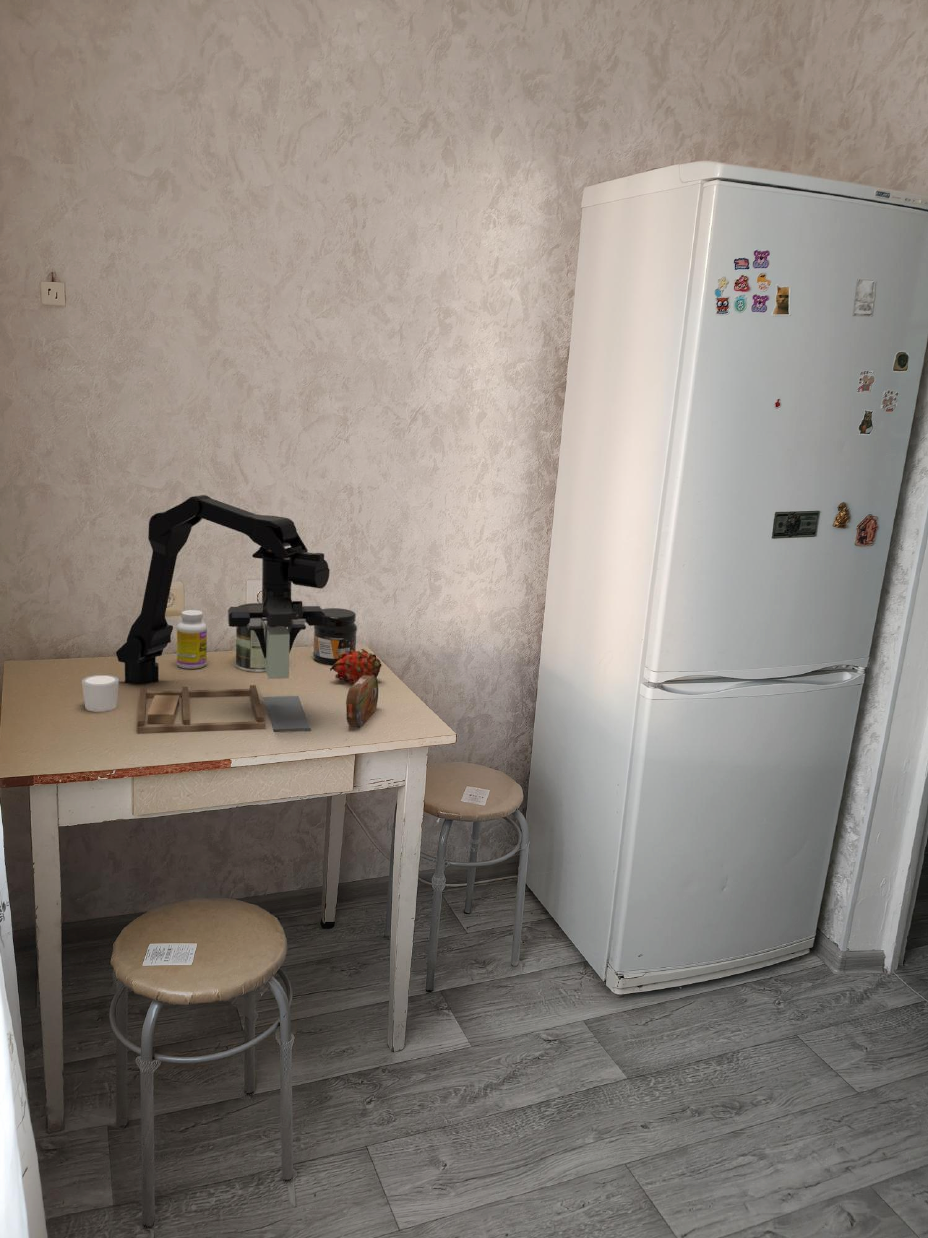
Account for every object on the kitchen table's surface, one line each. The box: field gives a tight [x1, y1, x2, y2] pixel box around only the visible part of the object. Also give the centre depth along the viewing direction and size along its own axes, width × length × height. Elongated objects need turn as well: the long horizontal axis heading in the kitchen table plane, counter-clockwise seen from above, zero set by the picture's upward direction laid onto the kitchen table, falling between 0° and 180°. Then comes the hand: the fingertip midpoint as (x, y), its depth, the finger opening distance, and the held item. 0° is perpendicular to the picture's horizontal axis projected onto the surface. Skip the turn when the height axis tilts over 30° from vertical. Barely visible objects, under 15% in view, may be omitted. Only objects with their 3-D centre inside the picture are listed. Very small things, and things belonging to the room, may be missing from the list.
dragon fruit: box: [329, 648, 383, 684], centre depth 218 cm, size 8×8×12 cm
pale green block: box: [263, 621, 290, 680], centre depth 191 cm, size 4×12×9 cm, turn 16°
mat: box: [262, 695, 311, 733], centre depth 195 cm, size 8×19×1 cm, turn 17°
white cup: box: [81, 674, 120, 713], centre depth 188 cm, size 7×7×7 cm
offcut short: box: [146, 695, 180, 725], centre depth 187 cm, size 5×11×2 cm, turn 11°
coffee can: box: [234, 602, 267, 673], centre depth 223 cm, size 10×10×14 cm
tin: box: [345, 675, 379, 728], centre depth 195 cm, size 15×3×8 cm, turn 168°
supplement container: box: [312, 607, 358, 666], centre depth 233 cm, size 10×10×12 cm
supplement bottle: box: [176, 609, 208, 670], centre depth 220 cm, size 7×7×13 cm
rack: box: [137, 684, 266, 735], centre depth 189 cm, size 23×20×4 cm
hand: (276, 657), depth 191 cm, fingers closed on pale green block, 4 cm apart
